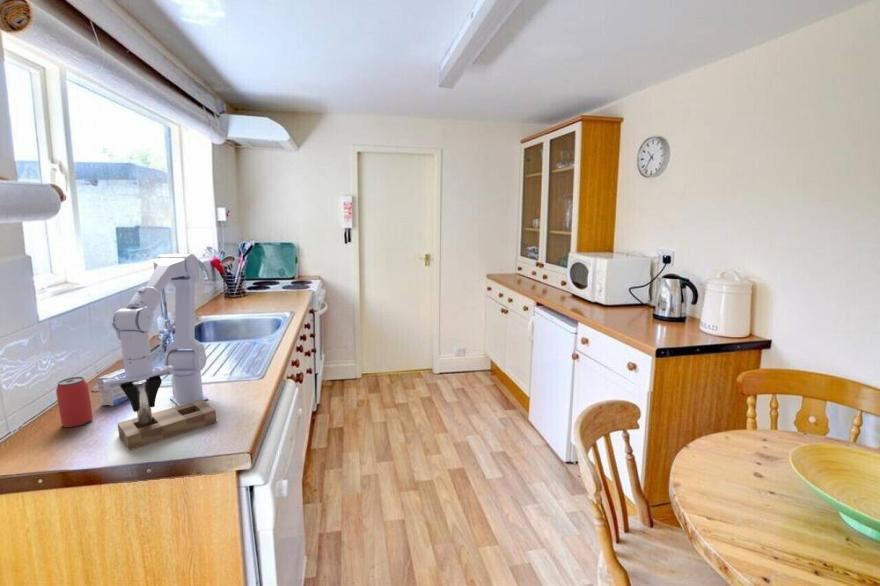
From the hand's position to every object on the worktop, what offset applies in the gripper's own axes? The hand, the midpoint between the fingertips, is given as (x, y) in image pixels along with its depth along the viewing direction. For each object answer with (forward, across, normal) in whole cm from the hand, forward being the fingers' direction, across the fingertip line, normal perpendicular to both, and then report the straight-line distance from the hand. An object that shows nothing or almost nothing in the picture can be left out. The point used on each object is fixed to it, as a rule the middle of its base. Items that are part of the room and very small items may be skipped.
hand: (143, 408), depth 113 cm
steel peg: (+3, 0, 0) cm, 3 cm away
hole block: (+8, +5, 0) cm, 9 cm away
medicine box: (+8, 0, +31) cm, 32 cm away
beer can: (+8, -11, +22) cm, 26 cm away
